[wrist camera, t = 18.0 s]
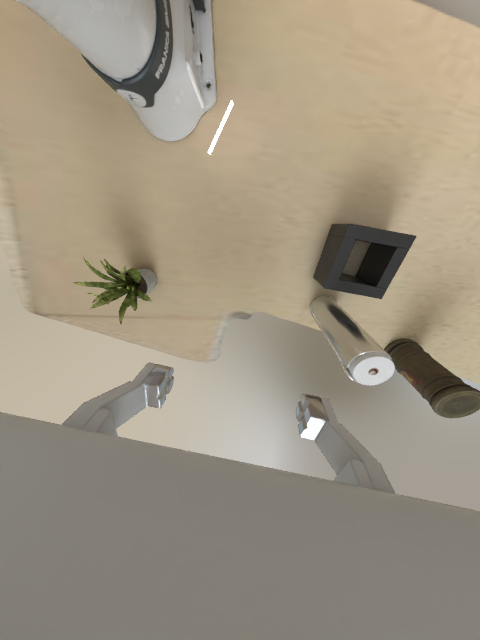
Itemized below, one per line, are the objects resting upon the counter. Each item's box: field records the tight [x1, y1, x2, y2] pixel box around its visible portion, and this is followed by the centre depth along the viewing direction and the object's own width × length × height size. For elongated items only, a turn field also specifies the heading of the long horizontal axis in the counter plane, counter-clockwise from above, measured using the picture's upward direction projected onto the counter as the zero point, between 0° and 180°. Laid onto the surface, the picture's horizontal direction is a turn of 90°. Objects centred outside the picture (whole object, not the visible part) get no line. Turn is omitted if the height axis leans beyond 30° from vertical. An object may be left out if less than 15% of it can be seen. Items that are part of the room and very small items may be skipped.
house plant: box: [75, 259, 157, 324], centre depth 42 cm, size 14×14×16 cm
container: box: [385, 339, 480, 418], centre depth 45 cm, size 9×9×18 cm
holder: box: [313, 224, 416, 299], centre depth 39 cm, size 12×12×9 cm
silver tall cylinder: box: [310, 296, 395, 385], centre depth 38 cm, size 6×6×25 cm
